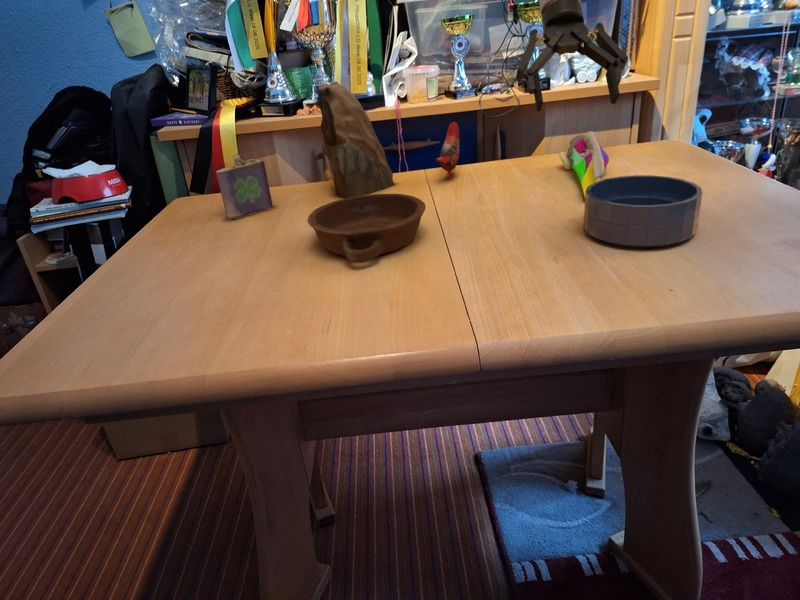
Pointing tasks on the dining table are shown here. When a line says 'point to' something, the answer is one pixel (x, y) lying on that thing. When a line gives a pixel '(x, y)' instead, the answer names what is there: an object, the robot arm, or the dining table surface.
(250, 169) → the flask
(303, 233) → the dining table surface
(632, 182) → the bowl
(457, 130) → the decorative bird figurine
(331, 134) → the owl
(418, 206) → the dish
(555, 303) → the dining table surface
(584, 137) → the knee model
